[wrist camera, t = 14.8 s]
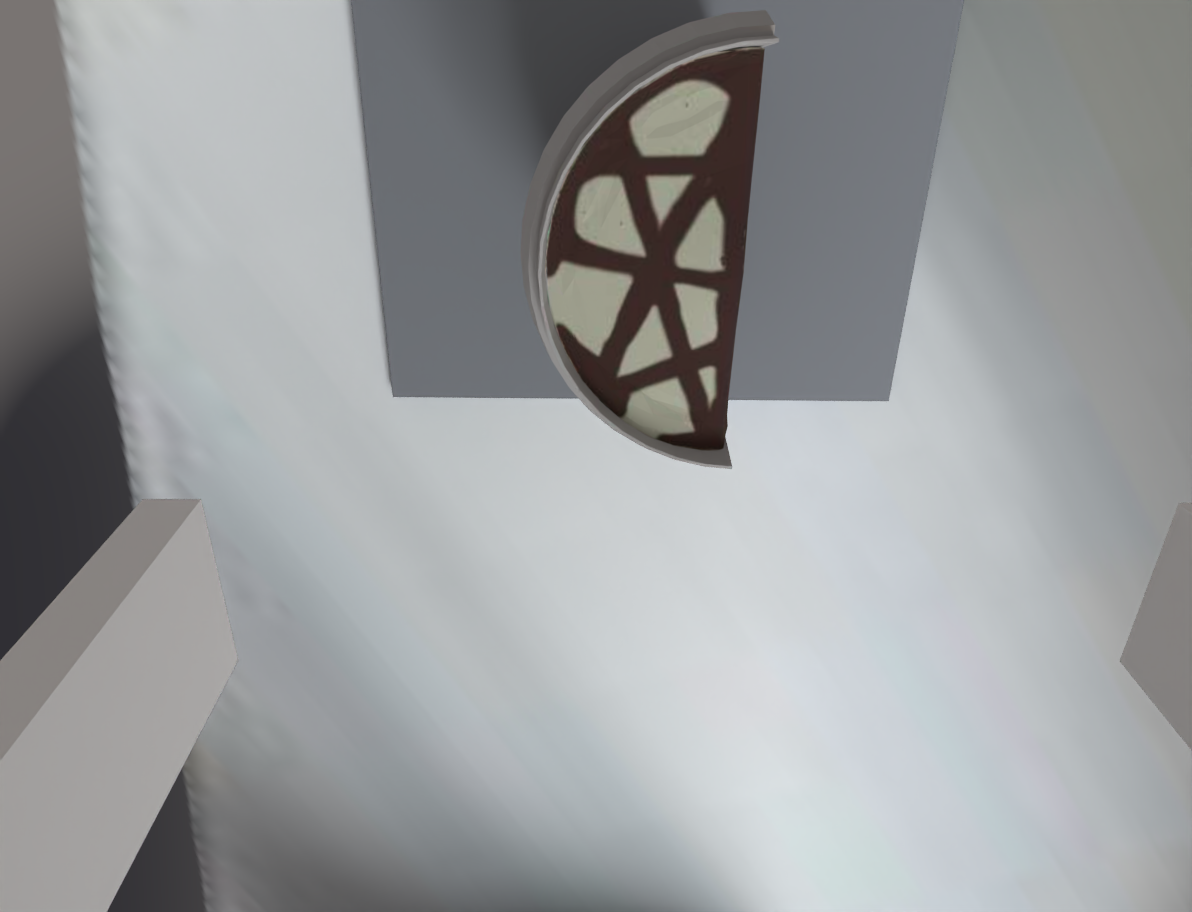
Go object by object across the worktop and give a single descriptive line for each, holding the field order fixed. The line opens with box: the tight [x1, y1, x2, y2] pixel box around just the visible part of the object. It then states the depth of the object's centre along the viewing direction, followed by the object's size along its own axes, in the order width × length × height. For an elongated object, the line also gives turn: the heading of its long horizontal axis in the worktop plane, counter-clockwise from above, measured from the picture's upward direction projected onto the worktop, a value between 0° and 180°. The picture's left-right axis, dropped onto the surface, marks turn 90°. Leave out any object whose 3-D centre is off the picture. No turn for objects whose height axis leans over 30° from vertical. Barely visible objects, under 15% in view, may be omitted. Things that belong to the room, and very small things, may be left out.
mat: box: [351, 0, 964, 401], centre depth 32 cm, size 16×20×1 cm
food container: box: [521, 10, 779, 469], centre depth 27 cm, size 12×6×10 cm, turn 179°
